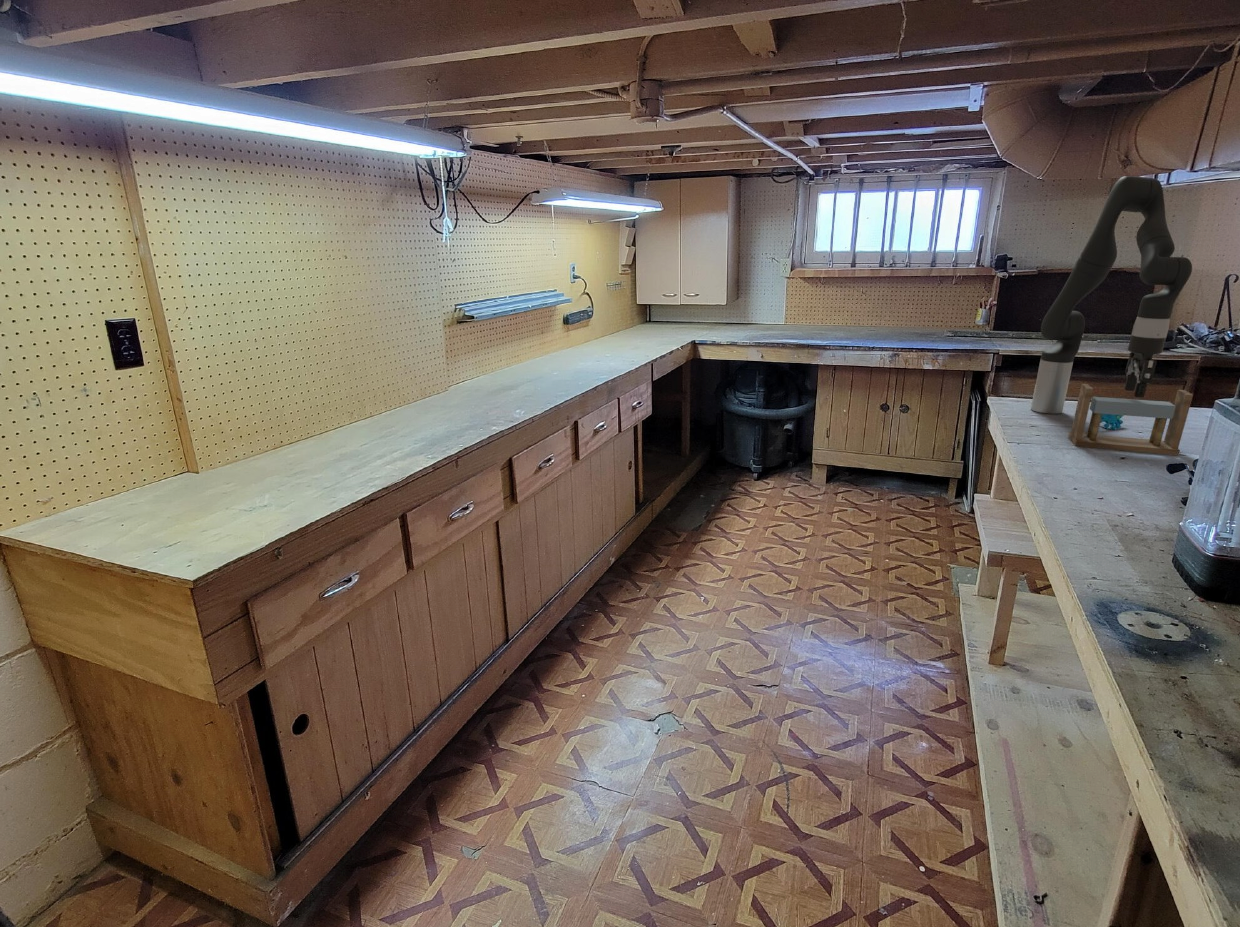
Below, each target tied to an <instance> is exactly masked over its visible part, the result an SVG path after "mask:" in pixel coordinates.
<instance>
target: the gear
mask: <svg viewBox="0 0 1240 927" xmlns="http://www.w3.org/2000/svg"><path fill="white" fill-rule="evenodd" d="M1124 416H1125V415H1113V414H1102V417H1101V421H1100V424H1102V423H1104V424H1103V427H1104V428H1105V429H1108V428H1110V430H1112V431H1115V430H1118V429H1120V428H1122V426H1121V425H1123V423H1124V421H1123V420H1121V419H1122V418H1123V417H1124Z"/></svg>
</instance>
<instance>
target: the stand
mask: <svg viewBox="0 0 1240 927" xmlns="http://www.w3.org/2000/svg"><path fill="white" fill-rule="evenodd" d="M1093 392H1094V387H1092V386H1090V384H1087V383H1081V386H1080V390H1079V394H1078V400H1077V404H1076V408H1075V413H1074V418H1073V422H1072V426H1071V431H1070V432H1069V433H1068V439H1069V440H1070V442H1071V443H1072V444H1073V445H1074V446H1075V447H1080V448H1092V449H1101V450H1102V449H1104V450H1113V451H1126V452H1135V453H1148V454H1158V455H1170V456H1179V455H1180V452H1181V450H1180V449H1179V446H1180V442H1181V439H1182V436H1183V432H1184V428H1185V425H1186V422H1187V418H1188V414H1189V412H1190V407H1191V405H1192V404H1191V403H1192V400H1193V397H1194V394H1192V393H1191V392H1189V391H1187V390H1185V389H1177V392H1176V395H1175V400H1174V403H1173V405H1175V406H1176V407H1175V410H1174V414H1173V418H1172V419H1169V421H1168V419H1166V418H1154V422H1153V425H1152V429H1151V433H1150V437H1149V439H1148V438H1147V439H1146V438H1139V437H1138V438H1135V437H1123V436H1114V435H1113V436H1112V435H1110V436H1109V435H1101V434H1100V435H1099V434H1098V433H1099V430H1100V426H1101V423H1100V421H1101V417H1102V414H1099V413H1093V412H1092V411H1091V416H1090V420H1089V423H1088V424H1089V425H1088V427H1087V428H1088V430H1087V431H1086V432H1087V433H1084V431H1085V428H1086V422H1087V417H1088V414H1089V410H1090V405H1091V400H1092V397H1093V396H1092V395H1093ZM1167 421H1168V425H1167ZM1166 425H1167V428H1166ZM1165 429H1166V431H1165ZM1164 432H1166V433H1165V435H1164ZM1163 436H1164V439H1162V438H1163Z"/></svg>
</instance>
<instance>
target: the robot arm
mask: <svg viewBox="0 0 1240 927" xmlns="http://www.w3.org/2000/svg"><path fill="white" fill-rule="evenodd" d="M1163 188H1164V187H1163V185H1162V183H1161V181H1160V180H1158V178H1154V177H1146V176H1134V175H1124V176H1122V177H1120V178H1119V179H1118V180H1117V181H1116V182H1115V184H1114V185H1113V186H1112V188H1111V191H1110V192H1109V194H1108V197H1107V199H1106V201H1105V203H1104V206H1103V208H1102V211H1101V213H1100V215H1099V217H1098V220H1097V222H1096V223H1095V224H1096V225H1095V226H1094V229H1093V231H1092V233H1091V234H1090V236H1089V238H1088V241H1087V242H1086V244H1085V246H1084V248H1083V249H1082V251H1081V253H1080V255H1079V256H1078V259H1077V261H1076V263H1075V264H1074V266H1073V267H1072V268H1073V269H1072V271H1071V273H1070V274H1069V277H1068V279H1067V280H1066V282H1065V284H1064V286H1063V288H1062V289H1061V291H1060V292H1059V294H1058V296H1057V297H1056V298H1055V300H1054V301H1053V303H1052V305H1051V306H1050V308H1049V309H1048V310H1047V313H1046V314H1045V315H1044V317H1043V319H1042V322H1041V325H1040V333H1041V336H1042V338H1043V339H1046V340H1047V341H1056V342H1055V343H1054V344H1053V345H1052V346H1050V347H1048V348H1046V349H1044V350H1042V352H1041V356H1040V361H1039V364H1038V365H1039V366H1038V371H1037V376H1036V381H1035V385H1034V390H1033V396H1032V402H1031V406H1030V410H1031V411H1034V412H1037V413H1042V414H1051V415H1052V414H1053V415H1055V414H1056V415H1057V414H1062V413H1063V410H1064V406H1065V402H1066V397H1067V392H1068V389H1069V388H1068V387H1069V382H1070V379H1071V375H1072V374H1071V373H1072V369H1073V364H1074V361H1075V360H1074V359H1075V357H1076V356H1077V355H1078V352H1079V350H1080V347H1081V343H1082V339H1083V335H1084V332H1085V327H1086V326H1085V325H1086V322H1085V320H1086V319H1085V317H1084V315H1083V313H1081V312H1080V311H1078V310H1074V309H1076V306H1077V305H1078V304H1079V303H1080V302H1081V301H1083V299H1084V298H1085V297H1087V295H1089V294H1090V293H1091V292H1093V291H1094V290H1095V289H1096V288H1097V287H1099V285H1100V284H1101V283H1103V282H1104V281H1105V279H1106V278H1107V276H1108V274H1109V273H1110V272H1111V269H1112V268H1113V266H1114V264H1115V262H1116V259H1117V256H1118V250H1117V249H1118V248H1117V242H1116V235H1115V229H1116V225H1117V221H1118V220H1119V218H1120V216H1121V213H1122V212H1128V213H1139V214H1142V216H1143V217H1144V220H1143V222H1142V223H1141V225H1140V227H1138V230H1137V233H1136V236H1135V237H1136V238H1135V239H1136V245H1137V247H1138V250H1139V253H1140V258H1141V259H1140V269H1139V274H1138V275H1139V279H1140V280H1141V282H1143V283H1144V284H1145V285H1149V286H1164V287H1163V288H1162V289H1161V290H1160V291H1159V292H1155V293H1150V294H1146V295H1144V296H1143V297H1142V298H1141V301H1140V303H1139V308H1138V312H1137V317H1136V319H1135V321H1134V324H1133V327H1132V330H1131V334H1130V339H1129V343H1128V345H1127V346H1128V347H1127V351H1128V352H1130V353H1129V355H1128V356H1129V357H1128V361H1127V363H1126V368H1125V370H1124V372H1125V374H1126V381H1125V384H1124V391H1130V392H1133V391H1134V392H1133V396H1134V397H1135V398H1141V399H1142V398H1144V397H1145V394H1146V390H1147V387H1148V385H1149V384H1152V382H1153V379H1154V375H1155V372H1156V367H1157V364H1158V362H1157V360H1153V356H1154V355H1160V354H1162V353H1163V350H1164V347H1165V344H1166V339H1167V336H1168V332H1169V327H1170V321H1171V316H1172V313H1173V308H1174V305H1175V303H1176V300H1177V299H1178V297H1179V295H1180V294H1181V292H1182V290H1183V289H1184V286H1186V284H1187V282H1188V281H1189V279H1190V277H1191V275H1192V272H1193V264H1192V262H1191V259H1189V258H1188V257H1184V256H1172V255H1173V254H1174V252H1175V250H1176V249H1175V243H1174V241H1173V238H1172V236H1171V233H1170V231H1169V227H1168V224H1167V219H1166V218H1167V217H1166V206H1165V197H1164V195H1165V194H1164V189H1163Z"/></svg>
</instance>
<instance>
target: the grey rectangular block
mask: <svg viewBox="0 0 1240 927" xmlns="http://www.w3.org/2000/svg"><path fill="white" fill-rule="evenodd" d="M1175 407H1176V406H1175V405H1174V403H1172V402H1170V401H1163V400H1162V401H1161V400H1160V401H1159V400H1147V399H1135V398H1134V399H1130V398H1117V397H1105V396H1104V397H1101V396H1092V397H1091V401H1090V405H1089V410H1090V411H1091V413H1092V412H1093V413H1099V414H1113V415H1124V416H1128V417H1139V418H1140V417H1141V418H1143V417H1144V418H1154V419H1155V418H1166V419H1167V420H1168V419H1169V420H1170V419H1172V418H1173V414H1174V410H1175Z"/></svg>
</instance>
